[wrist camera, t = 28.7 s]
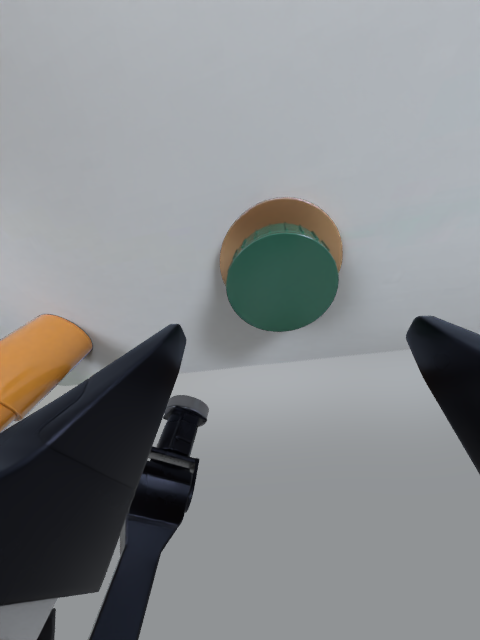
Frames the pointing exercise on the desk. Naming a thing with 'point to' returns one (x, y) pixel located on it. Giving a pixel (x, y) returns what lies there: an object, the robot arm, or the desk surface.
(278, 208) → the coaster
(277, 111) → the desk surface
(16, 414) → the honey jar
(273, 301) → the jar lid
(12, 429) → the robot arm
